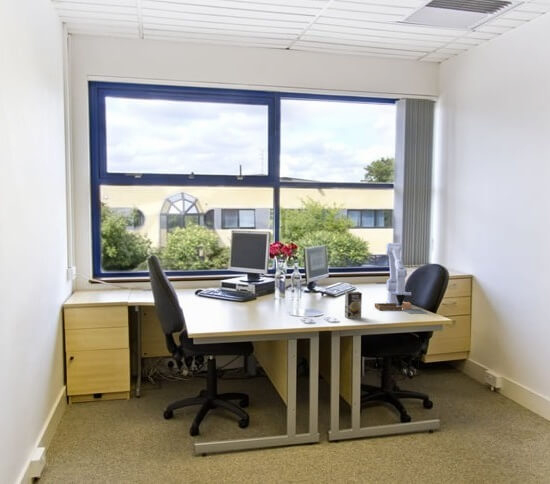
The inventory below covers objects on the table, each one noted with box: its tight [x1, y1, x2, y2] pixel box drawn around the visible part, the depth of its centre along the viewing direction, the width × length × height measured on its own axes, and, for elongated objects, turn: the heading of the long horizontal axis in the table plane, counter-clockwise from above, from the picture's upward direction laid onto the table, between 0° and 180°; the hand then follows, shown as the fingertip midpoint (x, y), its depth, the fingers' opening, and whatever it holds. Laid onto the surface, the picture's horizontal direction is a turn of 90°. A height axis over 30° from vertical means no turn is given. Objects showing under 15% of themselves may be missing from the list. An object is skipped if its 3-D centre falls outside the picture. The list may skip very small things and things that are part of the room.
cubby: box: [374, 302, 403, 312], centre depth 336 cm, size 12×16×2 cm
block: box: [402, 301, 412, 310], centre depth 337 cm, size 5×5×4 cm
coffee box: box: [344, 291, 363, 320], centre depth 309 cm, size 9×6×16 cm
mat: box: [402, 308, 428, 315], centre depth 328 cm, size 12×12×1 cm
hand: (400, 305), depth 337 cm, fingers closed
